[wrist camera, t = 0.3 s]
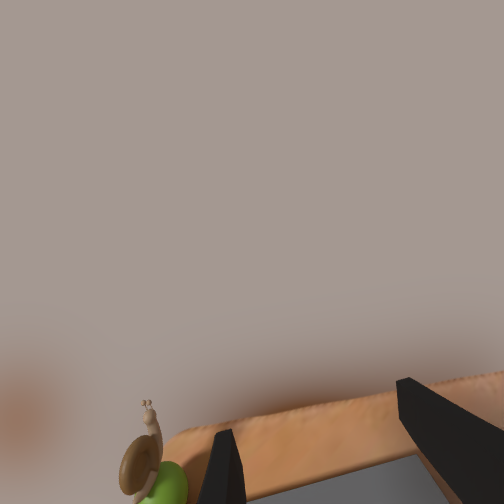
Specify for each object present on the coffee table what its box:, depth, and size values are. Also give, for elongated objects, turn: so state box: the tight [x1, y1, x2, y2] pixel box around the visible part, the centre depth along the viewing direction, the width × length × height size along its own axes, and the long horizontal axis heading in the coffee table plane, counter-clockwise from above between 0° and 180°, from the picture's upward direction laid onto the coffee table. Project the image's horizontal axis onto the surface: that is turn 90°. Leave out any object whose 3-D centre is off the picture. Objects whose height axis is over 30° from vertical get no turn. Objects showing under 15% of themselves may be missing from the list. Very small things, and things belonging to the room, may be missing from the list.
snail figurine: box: [119, 400, 188, 504], centre depth 25 cm, size 5×6×12 cm
